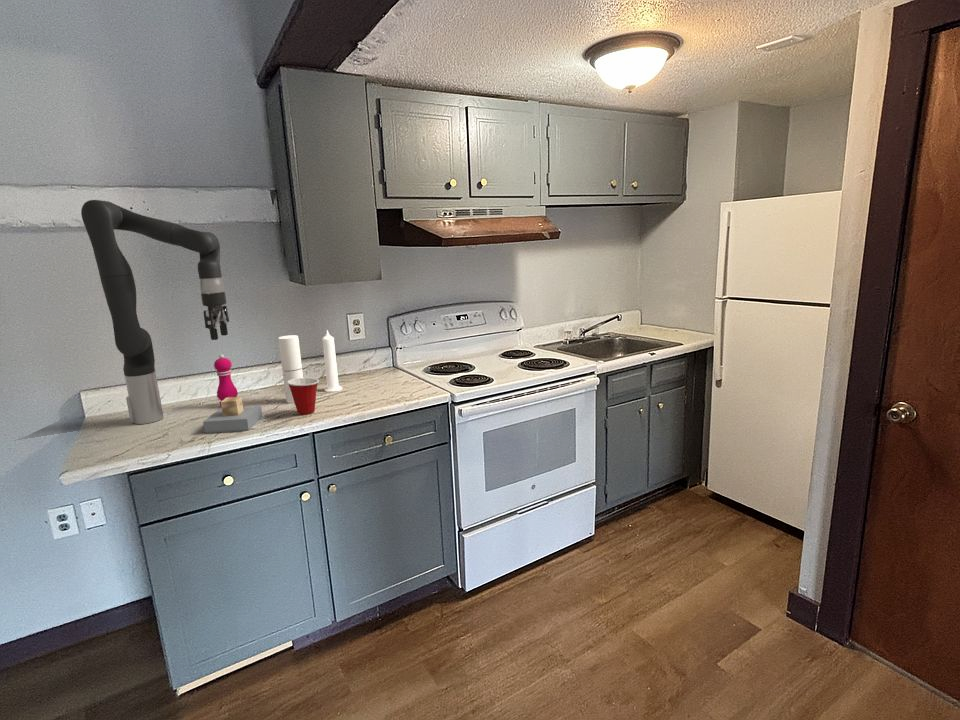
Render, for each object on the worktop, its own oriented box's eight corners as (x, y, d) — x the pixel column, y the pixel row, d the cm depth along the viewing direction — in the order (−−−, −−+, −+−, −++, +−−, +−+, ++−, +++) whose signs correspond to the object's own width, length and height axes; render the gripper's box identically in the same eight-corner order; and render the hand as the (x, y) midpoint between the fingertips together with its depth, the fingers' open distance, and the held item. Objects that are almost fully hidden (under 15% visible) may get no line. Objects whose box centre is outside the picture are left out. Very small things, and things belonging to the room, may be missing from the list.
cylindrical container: (297, 403, 203) (289, 339, 197) (282, 402, 205) (274, 338, 199) (309, 398, 209) (302, 335, 204) (294, 397, 212) (286, 334, 206)
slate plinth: (205, 433, 175) (203, 421, 174) (222, 419, 188) (220, 408, 187) (248, 430, 176) (247, 418, 175) (262, 416, 189) (261, 405, 188)
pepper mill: (231, 408, 201) (223, 356, 196) (214, 407, 202) (206, 356, 197) (243, 402, 207) (235, 352, 203) (226, 401, 209) (219, 352, 204)
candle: (345, 387, 222) (339, 328, 216) (337, 392, 215) (330, 331, 210) (329, 387, 224) (323, 328, 218) (321, 392, 217) (314, 331, 211)
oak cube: (222, 416, 179) (220, 401, 177) (228, 411, 183) (226, 397, 182) (238, 415, 179) (236, 400, 178) (243, 410, 184) (241, 396, 183)
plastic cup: (326, 413, 190) (322, 380, 187) (294, 419, 185) (290, 385, 182) (318, 405, 199) (314, 374, 197) (288, 411, 194) (284, 379, 191)
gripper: (210, 289, 191) (217, 334, 195) (192, 293, 177) (199, 341, 181) (231, 288, 191) (238, 333, 195) (215, 292, 178) (222, 340, 181)
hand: (219, 337), depth 188 cm, fingers open, 8 cm apart
